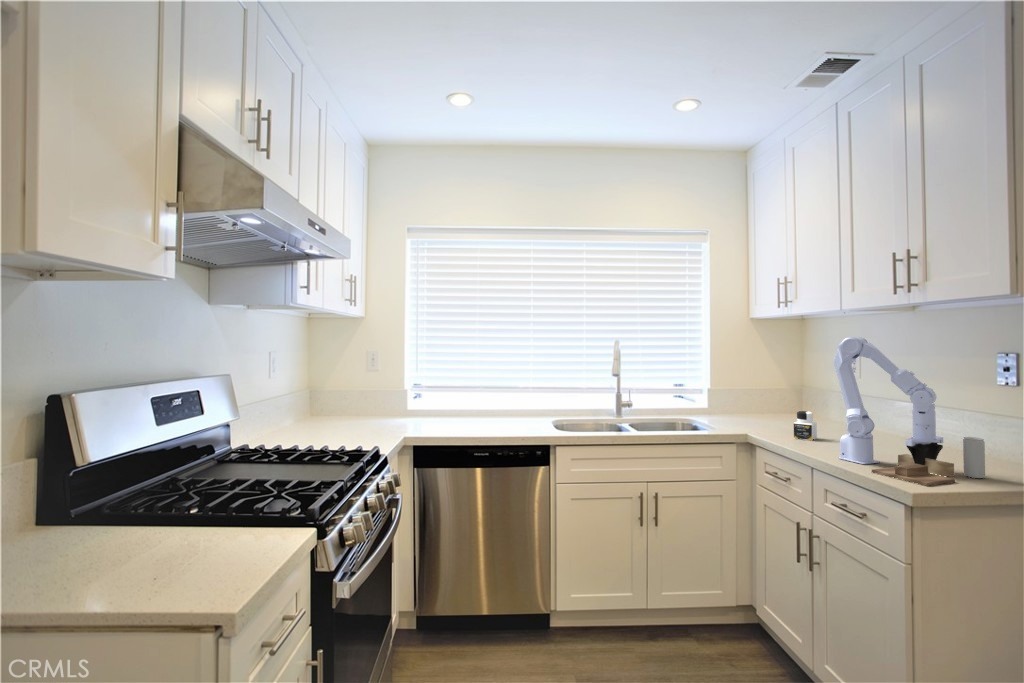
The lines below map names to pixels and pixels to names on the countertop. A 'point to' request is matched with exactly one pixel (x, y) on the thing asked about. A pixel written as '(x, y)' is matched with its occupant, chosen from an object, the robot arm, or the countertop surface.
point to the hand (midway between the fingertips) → (924, 466)
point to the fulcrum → (914, 474)
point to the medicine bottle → (805, 426)
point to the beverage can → (974, 457)
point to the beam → (929, 465)
